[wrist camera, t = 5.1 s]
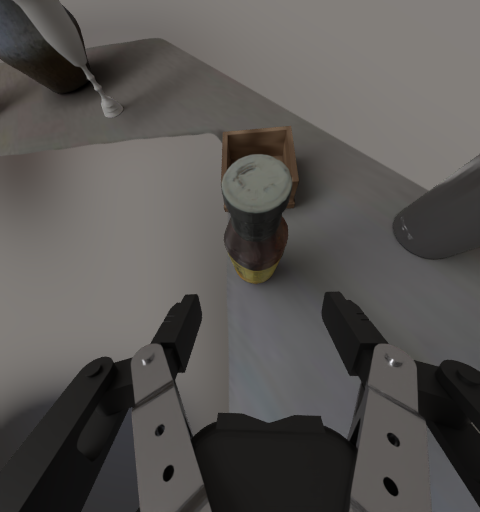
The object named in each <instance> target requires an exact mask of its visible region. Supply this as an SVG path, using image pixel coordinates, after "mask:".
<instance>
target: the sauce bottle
mask: <svg viewBox="0 0 480 512" xmlns="http://www.w3.org/2000/svg"><path fill="white" fill-rule="evenodd" d="M292 184H293V183H292V178H291V175H290V171H289V169H288V168H287V167H286V165H285V164H284V163H283V162H281V161H280V160H277V159H275V158H274V157H272V156H269V155H263V154H254V155H249V156H245V157H243V158H240V159H238V160H237V161H236V162H234V163H233V164H232V165H231V166H230V167H229V168H228V169H227V171H226V173H225V174H224V176H223V180H222V183H221V188H222V194H223V198H224V203H225V206H226V208H227V210H228V211H229V212H230V214H231V218H230V220H229V223H228V225H227V228H226V231H225V234H224V243H225V247H226V250H227V252H228V254H229V256H230V258H231V261H232V263H233V265H234V267H235V269H236V271H237V273H238V275H239V276H240V277H241V278H242V279H243V280H245V281H246V282H249V283H254V284H257V283H262V282H265V281H266V280H268V279H269V278H270V277H271V276H272V274H273V273H274V271H275V269H276V267H277V265H278V263H279V261H280V259H281V257H282V255H283V252H284V249H285V246H286V244H287V240H288V225H287V223H286V221H285V219H284V218H283V217H282V212H283V211H284V210H285V209H286V207H287V205H288V203H289V199H290V195H291V191H292Z"/></svg>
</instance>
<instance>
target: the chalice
mask: <svg viewBox="0 0 480 512" xmlns="http://www.w3.org/2000/svg"><path fill="white" fill-rule="evenodd" d="M13 1H14V2H15V3H16V4H18V5H19V6H20V7H21V8H22V10H23V11H24V12H25V14H26V15H27V16H28V18H29V19H30V20H31V22H32V23H33V24H34V26H35V27H36V28H37V29H38V31H39V32H40V33H41V35H42V36H43V37H44V39H45V40H46V41H47V42H48V43H49V44H50V45H51V46H52V47H53V48H54V49H55V50H56V51H57V52H59V53H60V54H61V55H62V56H63V57H65V58H66V59H67V60H68V61H70V62H71V63H72V64H73V65H74V66H77V67H81V68H82V69H83V71H84V72H85V74H86V76H87V79H88V80H90V81H91V82H92V83H93V85H94V90H96V91H98V92H99V94H100V95H101V97H102V101H101V106H102V109H103V111H104V115H105V116H106V117H115V116H117V115H119V114H120V113H121V112H122V111H123V106H122V105H120V104H119V103H118V102H117V101H116V100H115V99H114V98H112V97H108V96H106V95H105V94H104V93H103V91H102V86H101V85H99V84H98V83H97V82H96V80H95V78H94V75H92V74H91V73H90V72H89V70H88V69H87V67H86V65H85V64H86V63H87V58H86V55H85V51H84V48H83V45H82V42H81V39H80V37H79V34H78V31H77V29H76V27H75V25H74V24H73V22H72V21H71V19H70V17H69V16H68V14H67V13H66V11H65V9H64V8H63V6H62V4H61V3H60V1H59V0H13Z"/></svg>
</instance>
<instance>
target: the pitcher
mask: <svg viewBox="0 0 480 512" xmlns="http://www.w3.org/2000/svg"><path fill="white" fill-rule="evenodd" d="M62 6H63V5H62ZM63 8H64V9H65V11H66V13H67V14H68V16H69V17H70V19H71V21H72V22H73V24H74V25H75V27H76V29H77V31H78V34H79V37H80V39H81V42H82V45H83V48H84V51H85V46H84V41H83V37H82V34H81V30H80V27H79V25H78V23H77V21H76V19H75V18H74V17H73V15H72V14H71V13H70V12H69V11H68V10H67V9H66V8H65V7H64V6H63ZM85 55H86V52H85ZM86 58H87V55H86ZM0 59H1V60H2V61H4V62H5V63H7V64H9V65H10V66H12V67H14V68H15V69H17V70H19V71H21V72H23V73H24V74H26V75H28V76H29V77H31V78H32V79H34V80H35V81H37V82H39V83H41V84H42V85H44V86H46V87H47V88H49V89H51V90H52V91H53V92H56V93H66V92H72V91H74V90H76V89H77V88H79V87H81V86H83V85H85V84H86V83H87V82H88V81H89V80H88V79H87V76H86V74H85V72H84V71H83V69H82V68H81V67H77V66H74V65H73V64H72V63H71V62H70V61H68V60H67V59H66V58H65V57H63V56H62V55H61V54H60V53H59V52H57V51H56V50H55V49H54V48H53V47H52V46H51V45H50V44H49V43H48V42H47V41H46V40H45V39H44V37H43V36H42V35H41V33H40V32H39V31H38V29H37V28H36V27H35V26H34V24H33V23H32V22H31V20H30V19H29V18H28V16H27V15H26V14H25V12H24V11H23V10H22V8H21V7H20V6H19V5H18V4H16V3H15V2H14V1H13V0H0ZM85 65H86V67H87V69H88V70H89V72H90V73H91V71H90V66H89V63H88V59H87V63H86V64H85ZM91 74H92V73H91Z"/></svg>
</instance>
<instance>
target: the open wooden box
mask: <svg viewBox="0 0 480 512" xmlns="http://www.w3.org/2000/svg"><path fill="white" fill-rule="evenodd" d="M254 154H263V155H269V156H272V157H274V158H275V159H277V160H280V161H281V162H283V163H284V164H285V165H286V167H287V168H288V169H289V171H290V175H291V178H292V183H293V184H292V191H291V195H290V199H289V203H288V205H287V207H286V208H294V205H295V200H294V195H295V192H296V189H297V186H298V183H299V178H298V171H297V164H296V157H295V150H294V143H293V137H292V130H291V126H285V127H274V128H263V129H252V130H241V131H230V132H223V147H222V174H221V175H222V176H221V183H222V180H223V176H224V174H225V173H226V171H227V169H228V168H229V167H230V166H231V165H232V164H233V163H234V162H236V161H237V160H238V159H240V158H243V157H245V156H249V155H254ZM224 210H225V212H229V211H228V210H227V208H226V206H225V203H224Z"/></svg>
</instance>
